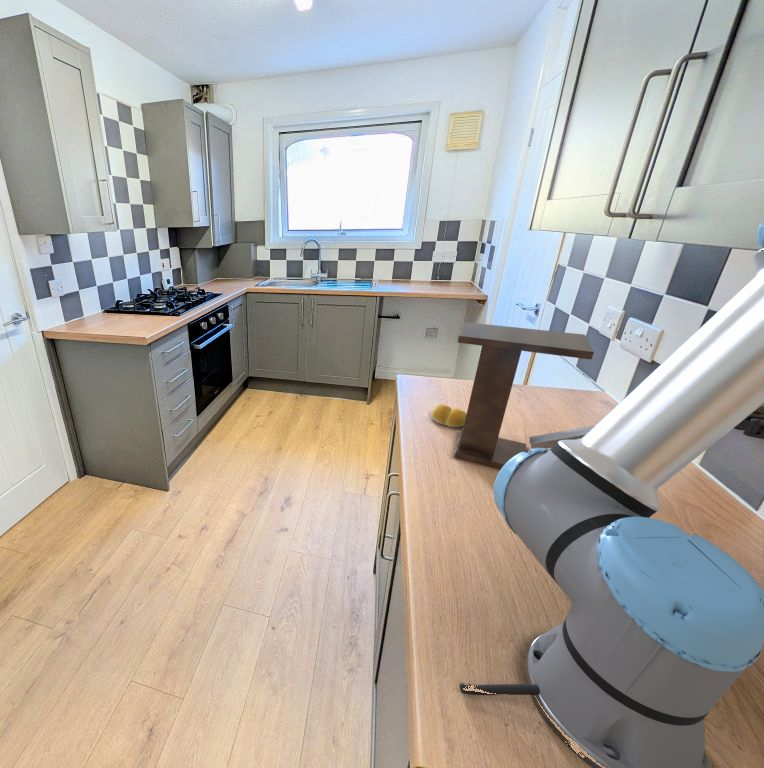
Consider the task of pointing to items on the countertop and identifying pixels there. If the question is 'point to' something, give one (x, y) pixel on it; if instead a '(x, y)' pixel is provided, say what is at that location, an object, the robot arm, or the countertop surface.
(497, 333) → the shelf stand
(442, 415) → the bread roll
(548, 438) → the kitchen knife
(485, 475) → the countertop surface
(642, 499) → the robot arm
